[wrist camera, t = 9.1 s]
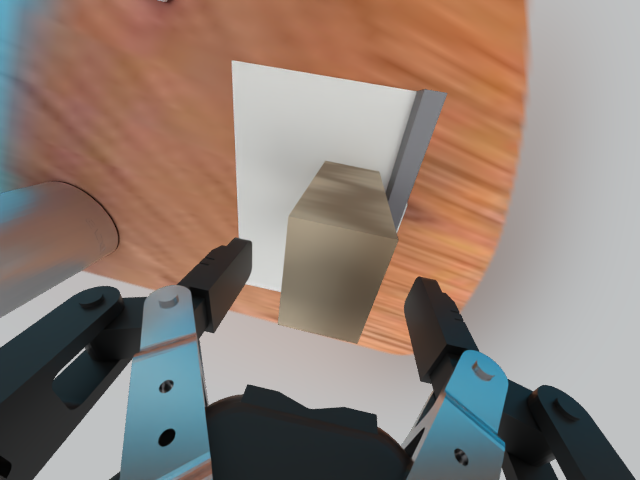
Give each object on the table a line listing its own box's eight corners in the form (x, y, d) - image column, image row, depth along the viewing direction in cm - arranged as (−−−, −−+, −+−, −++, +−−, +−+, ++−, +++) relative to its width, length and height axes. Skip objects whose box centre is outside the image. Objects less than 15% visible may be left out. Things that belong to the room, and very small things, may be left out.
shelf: (248, 271, 26) (231, 296, 23) (245, 65, 16) (214, 54, 13) (363, 296, 25) (363, 326, 22) (431, 96, 16) (451, 93, 12)
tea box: (313, 231, 20) (277, 324, 11) (325, 160, 17) (288, 216, 8) (360, 241, 20) (360, 344, 11) (381, 171, 17) (402, 241, 8)
